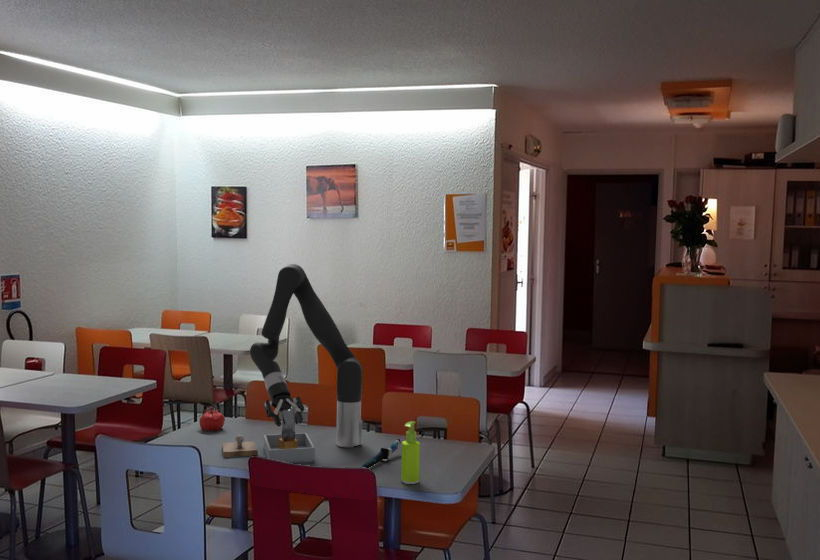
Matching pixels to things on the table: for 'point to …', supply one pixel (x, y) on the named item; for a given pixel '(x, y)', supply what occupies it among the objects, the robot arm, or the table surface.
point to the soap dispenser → (410, 455)
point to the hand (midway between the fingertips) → (290, 423)
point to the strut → (288, 430)
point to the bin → (295, 455)
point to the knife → (383, 454)
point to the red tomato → (211, 420)
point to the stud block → (239, 448)
